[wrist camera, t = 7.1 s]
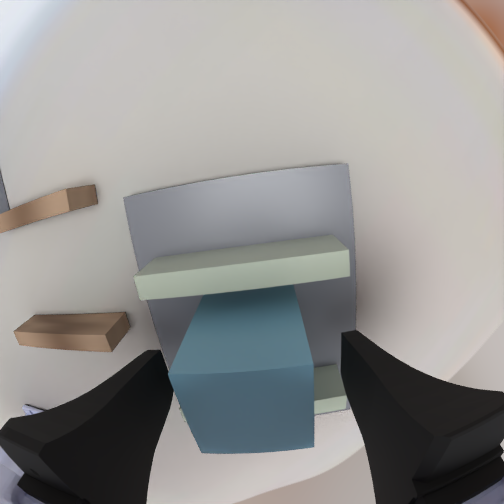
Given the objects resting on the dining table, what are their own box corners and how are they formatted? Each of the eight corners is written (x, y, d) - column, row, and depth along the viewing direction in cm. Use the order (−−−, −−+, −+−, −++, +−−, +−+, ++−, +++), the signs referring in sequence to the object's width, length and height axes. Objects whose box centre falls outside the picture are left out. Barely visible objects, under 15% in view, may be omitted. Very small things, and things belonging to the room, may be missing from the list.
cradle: (39, 327, 15) (19, 345, 13) (6, 215, 13) (-20, 222, 11) (130, 327, 15) (111, 351, 12) (94, 184, 13) (65, 188, 10)
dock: (193, 414, 16) (183, 452, 13) (130, 195, 13) (94, 204, 10) (347, 400, 16) (359, 438, 13) (343, 163, 12) (368, 161, 9)
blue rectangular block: (220, 361, 14) (201, 453, 8) (205, 291, 13) (167, 374, 7) (298, 353, 14) (314, 447, 8) (292, 281, 13) (313, 364, 7)
